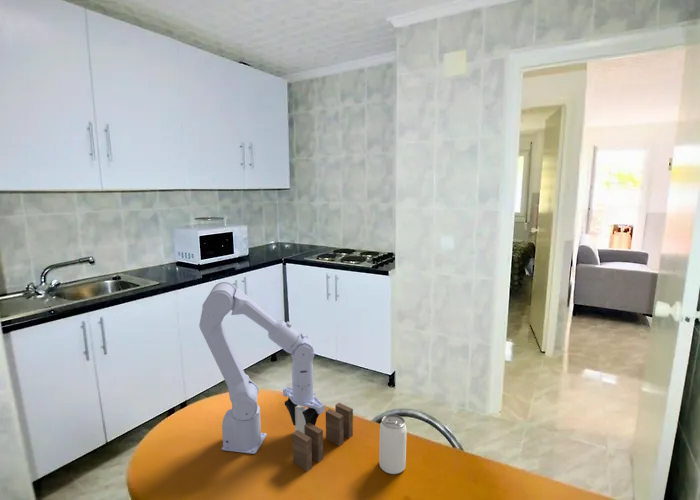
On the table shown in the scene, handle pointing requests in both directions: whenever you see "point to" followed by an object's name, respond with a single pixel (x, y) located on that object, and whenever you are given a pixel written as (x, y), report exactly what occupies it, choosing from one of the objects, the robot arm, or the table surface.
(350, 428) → the domino
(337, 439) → the domino
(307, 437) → the domino
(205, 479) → the table surface
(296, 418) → the domino
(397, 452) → the can
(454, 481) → the table surface
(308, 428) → the domino
